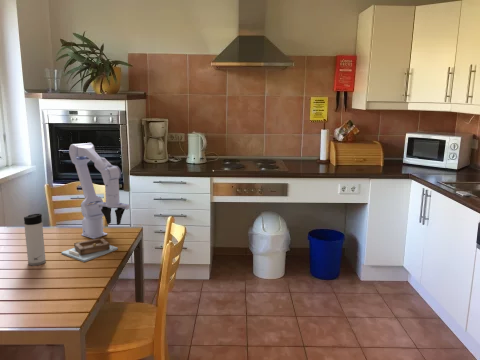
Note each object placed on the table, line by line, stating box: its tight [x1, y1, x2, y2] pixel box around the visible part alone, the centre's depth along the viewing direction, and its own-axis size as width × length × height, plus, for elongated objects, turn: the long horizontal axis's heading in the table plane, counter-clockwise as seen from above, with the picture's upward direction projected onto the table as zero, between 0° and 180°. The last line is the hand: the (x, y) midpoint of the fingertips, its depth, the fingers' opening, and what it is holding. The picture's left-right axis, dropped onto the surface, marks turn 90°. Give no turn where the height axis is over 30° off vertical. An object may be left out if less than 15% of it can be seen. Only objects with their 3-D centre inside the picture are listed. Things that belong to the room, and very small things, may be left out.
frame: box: [73, 237, 111, 255], centre depth 177 cm, size 9×12×3 cm
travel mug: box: [23, 213, 47, 267], centre depth 163 cm, size 6×7×20 cm
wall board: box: [61, 244, 119, 263], centre depth 177 cm, size 15×17×2 cm
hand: (113, 223), depth 185 cm, fingers open, 4 cm apart
